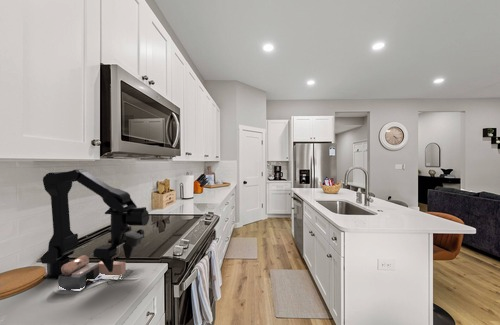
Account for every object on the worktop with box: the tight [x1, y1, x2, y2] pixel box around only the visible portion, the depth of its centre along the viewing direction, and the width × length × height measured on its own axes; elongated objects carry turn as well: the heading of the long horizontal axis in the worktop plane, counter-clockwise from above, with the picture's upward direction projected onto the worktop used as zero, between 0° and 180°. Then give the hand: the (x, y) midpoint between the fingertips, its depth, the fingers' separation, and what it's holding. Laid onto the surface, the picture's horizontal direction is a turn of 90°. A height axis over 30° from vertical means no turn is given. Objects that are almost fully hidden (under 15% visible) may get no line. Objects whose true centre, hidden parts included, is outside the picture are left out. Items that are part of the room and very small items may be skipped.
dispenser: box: [57, 254, 99, 290], centre depth 77 cm, size 8×8×9 cm
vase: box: [104, 238, 121, 259], centre depth 97 cm, size 7×7×9 cm
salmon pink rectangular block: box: [98, 260, 127, 275], centre depth 83 cm, size 10×2×4 cm, turn 84°
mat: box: [116, 269, 134, 282], centre depth 83 cm, size 13×7×1 cm, turn 84°
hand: (119, 265), depth 83 cm, fingers open, 9 cm apart
